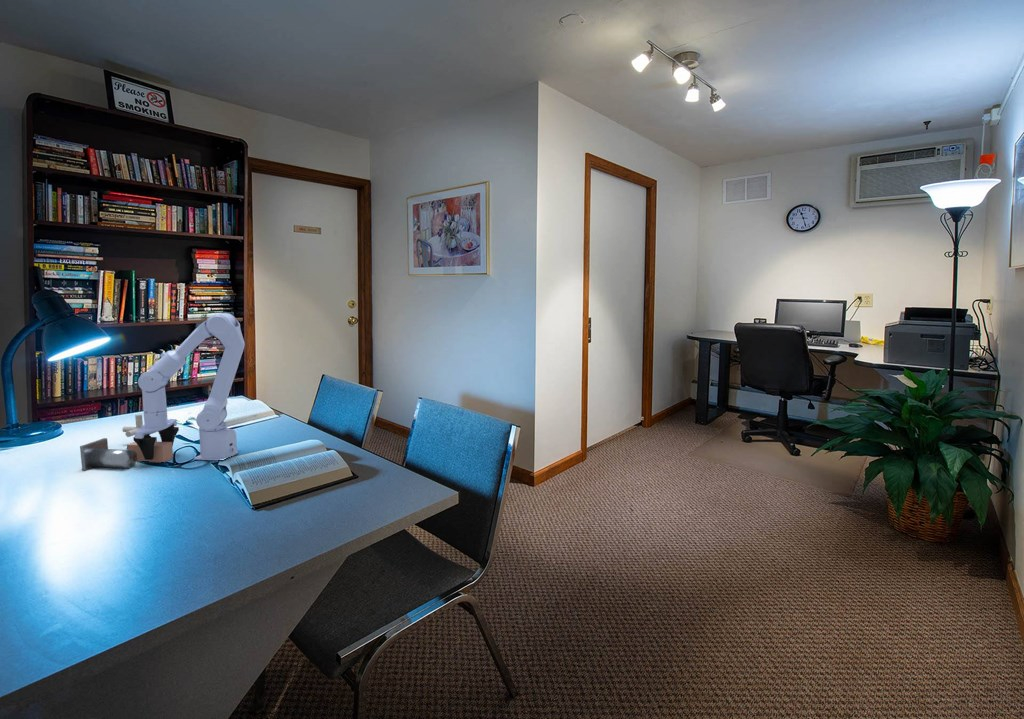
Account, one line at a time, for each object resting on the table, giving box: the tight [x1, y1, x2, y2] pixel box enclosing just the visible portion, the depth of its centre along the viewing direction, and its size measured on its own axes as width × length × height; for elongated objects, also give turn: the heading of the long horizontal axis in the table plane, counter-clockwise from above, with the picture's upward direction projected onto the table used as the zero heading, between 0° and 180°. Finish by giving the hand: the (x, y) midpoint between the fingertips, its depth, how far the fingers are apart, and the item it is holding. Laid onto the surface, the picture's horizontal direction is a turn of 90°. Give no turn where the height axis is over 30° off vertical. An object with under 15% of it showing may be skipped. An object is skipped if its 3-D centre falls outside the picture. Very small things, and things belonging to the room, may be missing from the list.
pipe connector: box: [121, 413, 157, 438], centre depth 169 cm, size 10×10×10 cm
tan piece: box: [126, 437, 174, 463], centre depth 157 cm, size 11×8×5 cm
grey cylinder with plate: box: [79, 437, 138, 472], centre depth 149 cm, size 11×8×7 cm
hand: (158, 455), depth 156 cm, fingers open, 7 cm apart
